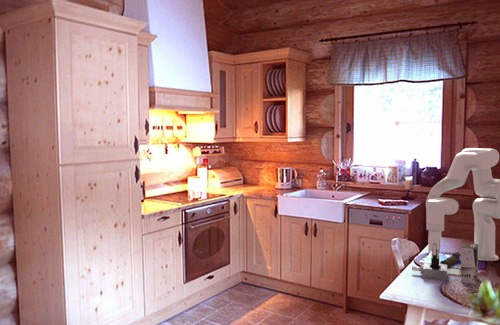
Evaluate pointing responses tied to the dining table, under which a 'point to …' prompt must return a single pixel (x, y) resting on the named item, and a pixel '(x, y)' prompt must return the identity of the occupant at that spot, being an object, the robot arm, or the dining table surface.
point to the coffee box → (469, 263)
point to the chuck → (432, 271)
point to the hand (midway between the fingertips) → (435, 265)
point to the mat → (453, 271)
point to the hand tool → (451, 259)
